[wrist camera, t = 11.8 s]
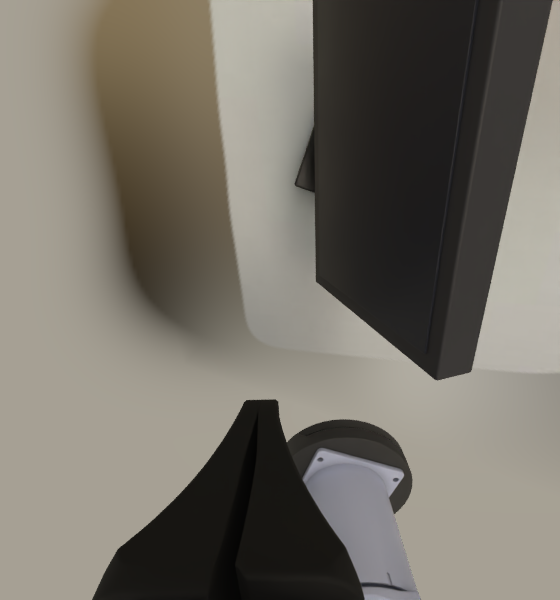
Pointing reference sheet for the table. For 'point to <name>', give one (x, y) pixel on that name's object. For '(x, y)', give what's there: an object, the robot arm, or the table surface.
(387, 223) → the panel
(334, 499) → the robot arm
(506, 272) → the table surface
